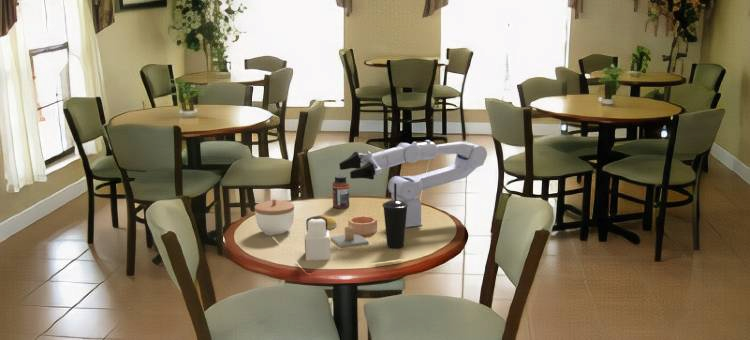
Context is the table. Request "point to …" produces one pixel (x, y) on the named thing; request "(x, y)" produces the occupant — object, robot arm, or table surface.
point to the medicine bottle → (317, 239)
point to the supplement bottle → (340, 192)
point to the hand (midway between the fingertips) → (345, 170)
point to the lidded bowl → (274, 216)
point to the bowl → (363, 225)
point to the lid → (349, 239)
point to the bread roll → (329, 222)
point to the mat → (348, 247)
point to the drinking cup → (395, 221)
